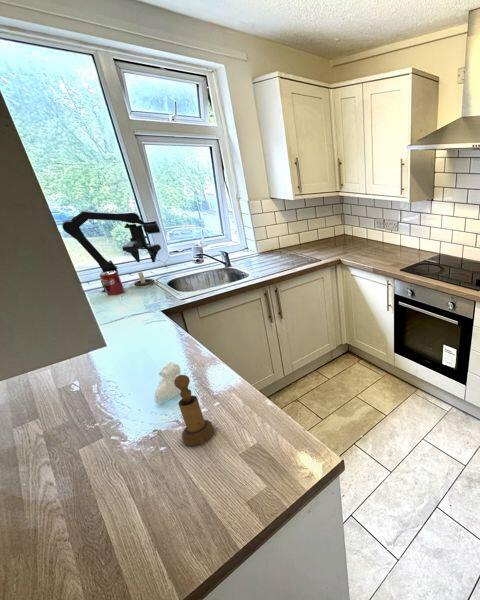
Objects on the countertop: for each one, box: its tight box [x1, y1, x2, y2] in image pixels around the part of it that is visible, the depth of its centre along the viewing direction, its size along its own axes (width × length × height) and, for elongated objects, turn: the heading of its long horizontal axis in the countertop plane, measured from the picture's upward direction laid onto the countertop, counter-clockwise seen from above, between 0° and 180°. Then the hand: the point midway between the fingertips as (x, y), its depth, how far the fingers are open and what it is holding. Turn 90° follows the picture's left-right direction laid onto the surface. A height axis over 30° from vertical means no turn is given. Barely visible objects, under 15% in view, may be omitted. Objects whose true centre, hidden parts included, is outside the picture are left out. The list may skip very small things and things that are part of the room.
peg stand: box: [129, 271, 158, 288], centre depth 185 cm, size 9×9×8 cm
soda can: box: [99, 271, 126, 296], centre depth 172 cm, size 7×7×12 cm
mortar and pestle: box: [174, 374, 214, 447], centre depth 79 cm, size 7×6×18 cm
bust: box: [154, 361, 182, 405], centre depth 96 cm, size 12×8×11 cm
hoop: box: [133, 278, 156, 286], centre depth 186 cm, size 9×9×2 cm
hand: (146, 262), depth 188 cm, fingers open, 9 cm apart
